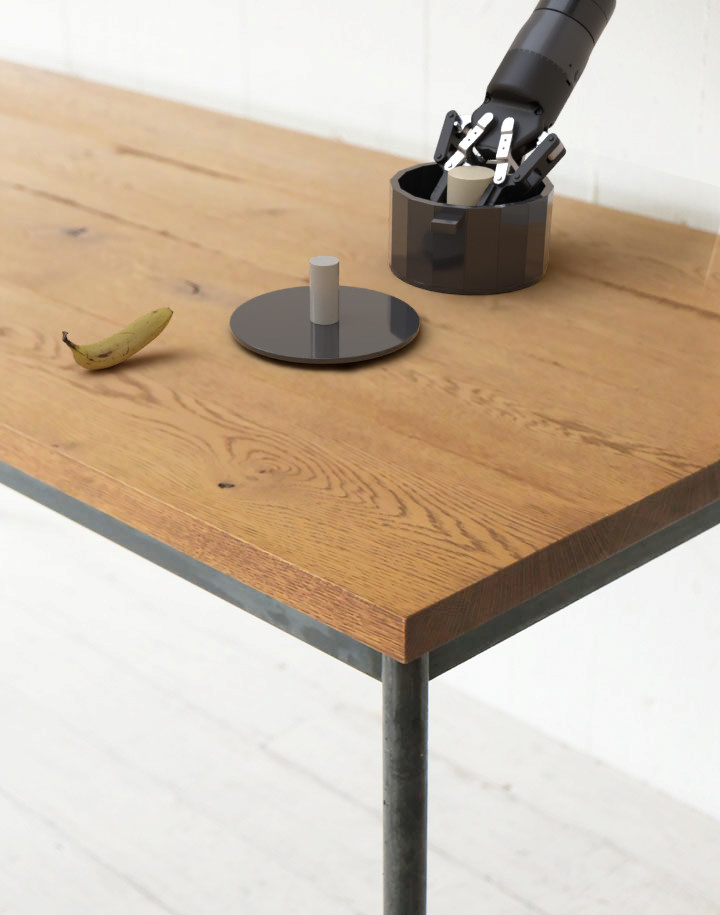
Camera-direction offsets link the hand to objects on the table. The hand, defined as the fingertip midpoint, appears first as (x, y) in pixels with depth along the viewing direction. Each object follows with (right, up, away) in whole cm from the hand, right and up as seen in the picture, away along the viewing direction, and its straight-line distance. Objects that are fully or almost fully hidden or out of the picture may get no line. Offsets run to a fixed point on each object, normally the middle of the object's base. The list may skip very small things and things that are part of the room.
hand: (457, 215), depth 130 cm
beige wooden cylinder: (+1, -4, +4) cm, 5 cm away
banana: (-30, -16, -17) cm, 38 cm away
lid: (-13, -12, -11) cm, 20 cm away
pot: (+1, -4, +4) cm, 6 cm away
